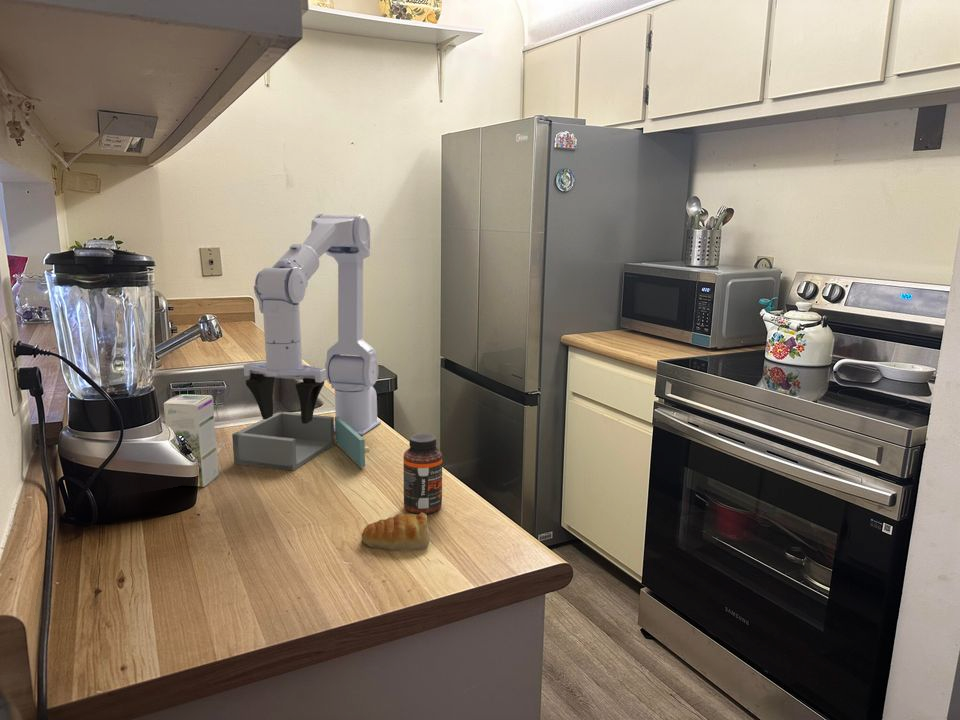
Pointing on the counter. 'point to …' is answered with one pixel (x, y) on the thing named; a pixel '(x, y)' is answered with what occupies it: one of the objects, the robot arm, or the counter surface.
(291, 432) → the grey open box
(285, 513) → the counter surface
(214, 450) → the syrup box
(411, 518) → the pastry
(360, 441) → the door
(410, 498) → the supplement bottle
